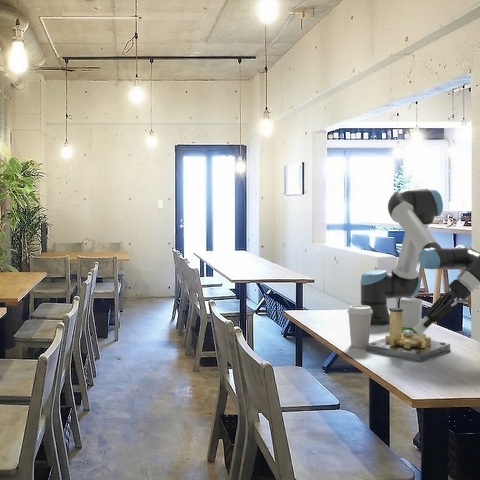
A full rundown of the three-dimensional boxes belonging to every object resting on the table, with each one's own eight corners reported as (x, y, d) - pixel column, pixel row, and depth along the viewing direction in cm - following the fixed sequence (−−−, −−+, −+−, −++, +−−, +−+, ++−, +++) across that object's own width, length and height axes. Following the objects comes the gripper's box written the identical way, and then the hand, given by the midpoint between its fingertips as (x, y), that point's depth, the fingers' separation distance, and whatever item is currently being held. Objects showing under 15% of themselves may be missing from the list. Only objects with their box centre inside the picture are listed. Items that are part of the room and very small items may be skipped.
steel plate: (397, 340, 230) (397, 322, 230) (450, 350, 215) (450, 330, 214) (365, 350, 215) (365, 331, 214) (420, 362, 199) (420, 341, 199)
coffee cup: (373, 343, 226) (374, 305, 225) (371, 349, 217) (371, 309, 216) (349, 341, 229) (349, 304, 228) (345, 347, 220) (345, 308, 219)
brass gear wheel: (408, 336, 225) (409, 302, 224) (440, 345, 211) (440, 309, 210) (376, 341, 218) (377, 306, 217) (406, 350, 204) (407, 313, 203)
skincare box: (398, 337, 236) (398, 299, 235) (400, 334, 242) (401, 296, 241) (419, 339, 232) (419, 300, 231) (421, 335, 238) (422, 298, 237)
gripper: (478, 296, 201) (429, 343, 202) (464, 290, 215) (418, 334, 217) (463, 281, 201) (414, 328, 202) (449, 275, 215) (404, 320, 216)
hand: (416, 331), depth 209 cm, fingers closed
